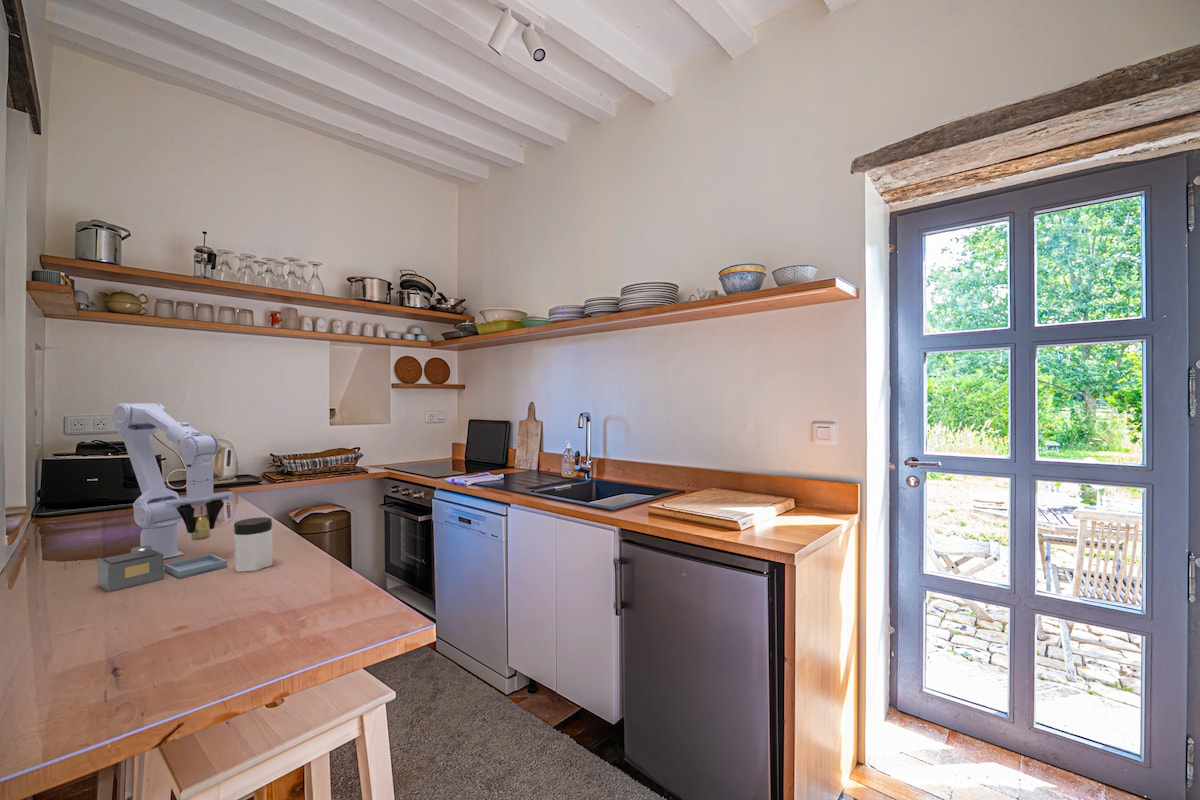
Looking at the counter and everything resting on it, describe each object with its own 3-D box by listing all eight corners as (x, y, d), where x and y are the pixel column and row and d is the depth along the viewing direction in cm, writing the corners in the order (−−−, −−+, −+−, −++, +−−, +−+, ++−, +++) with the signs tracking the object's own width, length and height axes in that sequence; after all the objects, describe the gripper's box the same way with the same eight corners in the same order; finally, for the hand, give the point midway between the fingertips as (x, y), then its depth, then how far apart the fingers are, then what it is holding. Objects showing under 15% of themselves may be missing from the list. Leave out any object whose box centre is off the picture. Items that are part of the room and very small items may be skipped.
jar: (274, 567, 132) (274, 521, 132) (236, 574, 127) (235, 526, 127) (270, 559, 139) (269, 515, 139) (233, 565, 134) (232, 520, 134)
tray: (164, 571, 129) (164, 564, 129) (211, 560, 138) (210, 554, 138) (179, 578, 124) (179, 571, 124) (226, 567, 132) (226, 560, 132)
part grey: (128, 572, 129) (128, 548, 129) (149, 567, 133) (148, 544, 133) (134, 575, 127) (133, 551, 127) (154, 570, 131) (154, 547, 131)
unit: (97, 584, 120) (97, 558, 120) (151, 572, 129) (151, 547, 129) (108, 592, 116) (108, 564, 116) (164, 578, 124) (163, 553, 124)
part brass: (189, 538, 136) (188, 516, 136) (206, 535, 140) (206, 513, 140) (195, 541, 134) (194, 518, 134) (213, 537, 137) (212, 515, 137)
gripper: (172, 485, 129) (173, 539, 129) (237, 477, 141) (238, 526, 141) (161, 483, 132) (162, 535, 132) (226, 475, 145) (226, 523, 145)
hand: (200, 530), depth 137 cm, fingers closed on part brass, 4 cm apart
